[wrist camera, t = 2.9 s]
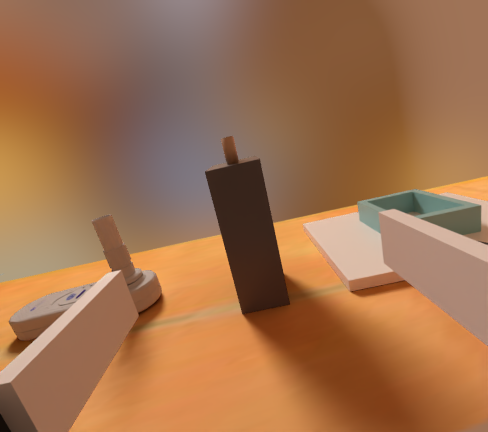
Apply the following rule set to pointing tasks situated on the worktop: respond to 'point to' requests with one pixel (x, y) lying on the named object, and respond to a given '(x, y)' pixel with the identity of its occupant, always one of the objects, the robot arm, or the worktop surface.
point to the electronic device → (54, 305)
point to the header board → (369, 236)
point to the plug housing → (247, 230)
